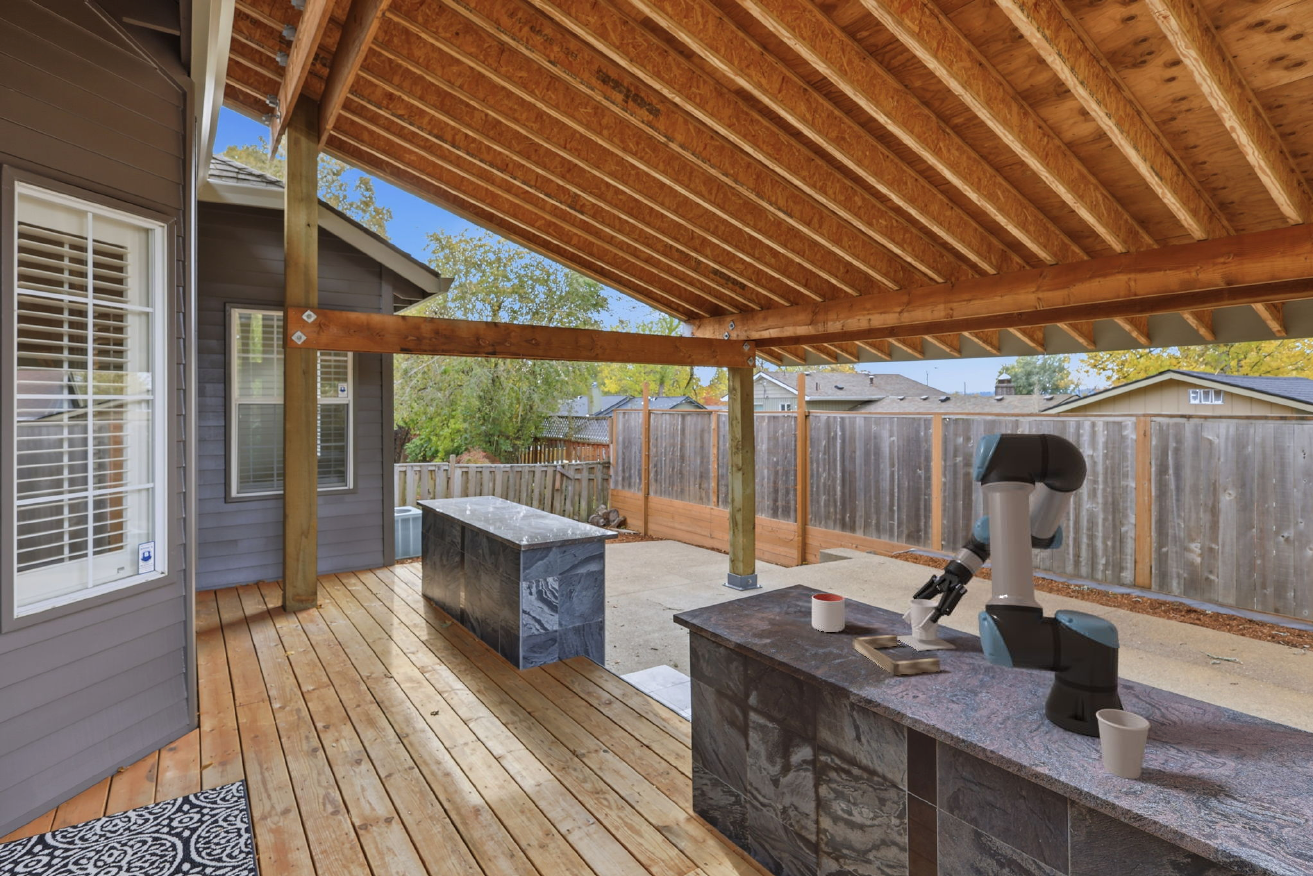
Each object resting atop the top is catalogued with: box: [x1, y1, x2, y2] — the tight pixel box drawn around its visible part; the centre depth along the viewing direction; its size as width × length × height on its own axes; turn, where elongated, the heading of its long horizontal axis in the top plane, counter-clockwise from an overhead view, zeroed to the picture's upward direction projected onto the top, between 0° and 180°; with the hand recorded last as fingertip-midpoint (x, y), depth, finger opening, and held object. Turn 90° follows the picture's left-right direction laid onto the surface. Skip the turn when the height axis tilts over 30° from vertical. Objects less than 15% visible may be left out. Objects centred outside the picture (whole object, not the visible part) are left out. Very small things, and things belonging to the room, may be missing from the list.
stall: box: [851, 634, 941, 676], centre depth 185 cm, size 14×21×3 cm, turn 13°
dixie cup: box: [1096, 709, 1151, 780], centre depth 127 cm, size 8×8×10 cm
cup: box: [811, 592, 846, 633], centre depth 212 cm, size 10×10×10 cm
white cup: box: [909, 599, 939, 640], centre depth 198 cm, size 8×8×10 cm
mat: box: [896, 634, 956, 652], centre depth 199 cm, size 12×12×1 cm
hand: (914, 625), depth 198 cm, fingers closed on white cup, 8 cm apart
